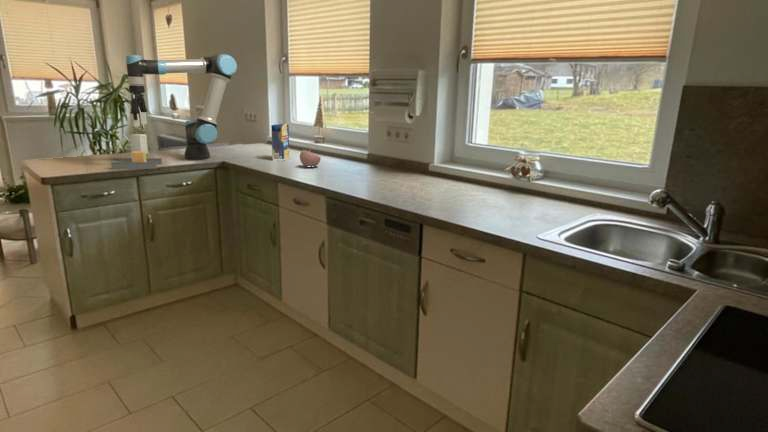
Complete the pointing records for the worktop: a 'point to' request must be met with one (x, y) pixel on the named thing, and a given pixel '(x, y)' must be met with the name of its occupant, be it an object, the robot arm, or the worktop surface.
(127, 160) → the channel
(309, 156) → the reddish-brown rounded lump
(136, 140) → the skincare box
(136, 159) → the orange block
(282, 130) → the beverage box
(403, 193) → the worktop surface
